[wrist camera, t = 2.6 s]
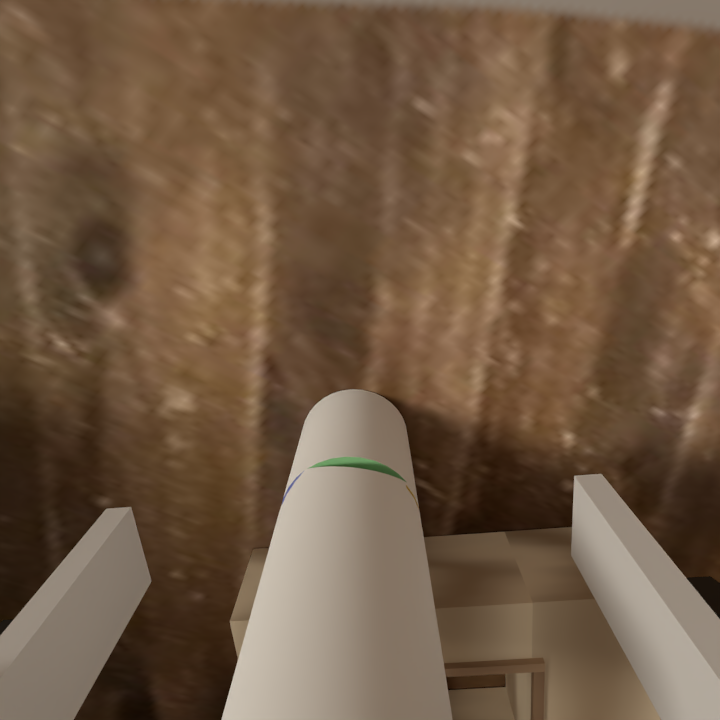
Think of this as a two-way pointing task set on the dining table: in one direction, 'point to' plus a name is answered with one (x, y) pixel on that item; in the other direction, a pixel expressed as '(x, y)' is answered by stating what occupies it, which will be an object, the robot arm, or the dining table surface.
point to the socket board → (514, 629)
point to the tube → (345, 582)
